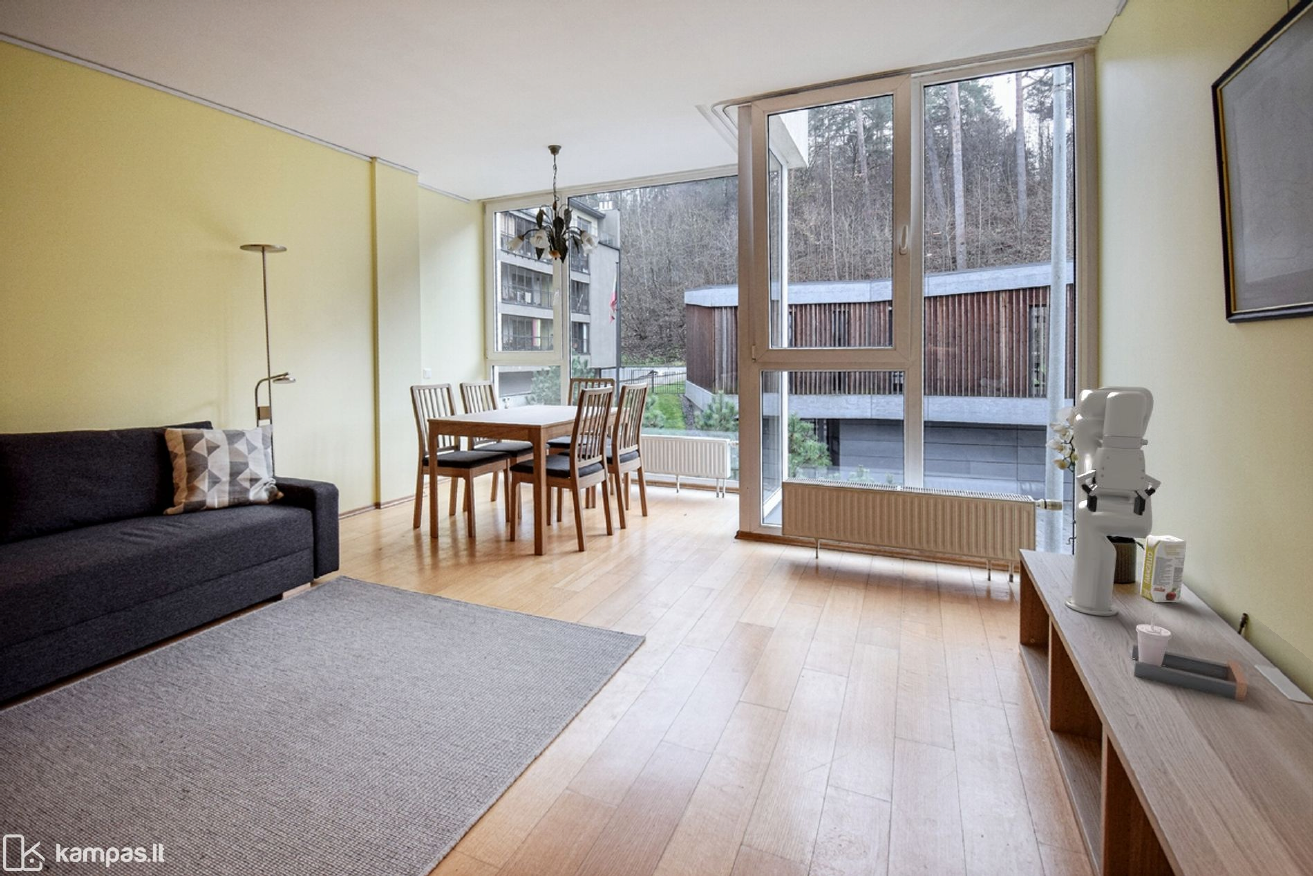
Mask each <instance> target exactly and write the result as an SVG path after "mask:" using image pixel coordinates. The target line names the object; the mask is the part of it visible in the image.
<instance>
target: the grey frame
mask: <svg viewBox="0 0 1313 876" xmlns="http://www.w3.org/2000/svg"><path fill="white" fill-rule="evenodd" d="M1132 658H1135V659H1134V660H1135V662H1134V669H1133V676H1134V677H1137V676H1139V677H1138V678H1141V677H1144V678H1143V679H1145V678H1148V679H1147V680H1150V679H1151V681H1154V680H1156V681H1155V682H1158V681H1159V682H1158V683H1163V684H1168V685H1172V686H1175V687H1181V688H1184V689H1189V690H1193V691H1197V692H1201V693H1206V694H1211V695H1215V696H1218V697H1224V698H1227V699H1232V700H1236V701H1240V702H1244V703H1245V702H1246V698H1247V697H1246V696H1247V691H1248V690H1247V689H1248V682H1247V680H1246V678H1245V675H1244V674H1243V671H1242V670H1241V669H1242V668H1241V667H1240V664H1239V663H1238V661H1233V660H1229V659H1227V663H1223V662H1218V661H1213V660H1209V659H1204V658H1200V657H1195V656H1189V655H1185V654H1180V653H1175V652H1171V651H1165V654H1164V658H1163V661H1162V665H1161V666H1157V665H1153V664H1148V663H1144V662H1139V660H1138V659H1139V652H1138V644H1132V652H1131V659H1132ZM1136 659H1137V660H1136ZM1163 665H1165V666H1163ZM1172 667H1173V668H1172ZM1221 678H1222V679H1221Z"/></svg>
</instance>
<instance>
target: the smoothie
mask: <svg viewBox="0 0 1313 876" xmlns="http://www.w3.org/2000/svg"><path fill="white" fill-rule="evenodd" d="M1151 614H1152V615H1151V624H1146V623H1144V624H1142V623H1141V624H1136V628H1135V631H1136V632H1137V645H1138V652H1139V660H1138V661H1139V662H1144V663H1148V664H1153V665H1157V666H1163V665H1162V661H1163V658H1164V654H1165V651H1166V650H1167V647H1168V643H1169V640H1171V639H1172V633H1171V631H1169V630H1168V629H1167V628H1166V629H1165V628H1164V627H1161V626H1158V625H1155V621H1156V614H1157V612H1155V611H1152V613H1151Z"/></svg>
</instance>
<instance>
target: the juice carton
mask: <svg viewBox="0 0 1313 876" xmlns="http://www.w3.org/2000/svg"><path fill="white" fill-rule="evenodd" d="M1144 544H1145V545H1144V551H1143V561H1142V568H1141V569H1142V571H1141V579H1140V596H1141V595H1142V596H1141V597H1144V598H1145V599H1147V598H1148V599H1147V600H1149V599H1150V601H1151V600H1152V601H1151V602H1153V601H1154V602H1153V603H1155V602H1180V600H1181V598H1180V597H1181V594H1182V593H1181V591H1182V586H1183V577H1184V567H1185V559H1186V551H1187V550H1186V549H1187V541H1186V540H1185V539H1181V538H1178V537H1176V536H1173V535H1170V534H1169V535H1168V534H1167V535H1153V534H1149V535H1148V536H1147V537H1145V543H1144Z"/></svg>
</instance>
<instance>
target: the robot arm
mask: <svg viewBox="0 0 1313 876" xmlns="http://www.w3.org/2000/svg"><path fill="white" fill-rule="evenodd" d="M1076 406H1077V412H1078V414H1077V415H1076V416H1075V417H1074V419H1073V422H1072V433H1073V434H1072V435H1073V441H1074V443H1075V446H1076V449H1077V451H1078V453H1079V455H1080V460H1081V474H1080V475H1077V476H1076V481H1077V484H1079V487H1080V488H1081V491H1082V495H1084V497H1085V498H1086V500H1082V501H1080V502H1078V504H1077V505H1076V507H1075V514H1074V515H1075V517H1074V518H1075V527H1076V528H1075V529H1076V530H1075V531H1076V536H1075V537H1076V538H1075V539H1076V540H1075V553H1074V560H1073V561H1074V563H1073V574H1072V583H1071V595H1070V596H1069V595H1068V596H1066V597H1065V598H1064V600H1063V601H1064V602H1063V603H1064V605H1066V606H1067V607H1068V608H1070V609H1072V610H1073V611H1077V612H1080V613H1083V614H1087V615H1093V616H1100V617H1101V616H1102V617H1109V616H1114V615H1116V614H1117V613H1118V607H1117V606H1116V605H1115V604H1113V603H1112V599H1113V588H1114V580H1115V569H1116V560H1117V550H1116V548H1115V545H1114V544H1113V543H1112V542H1111V541H1110V540H1109V539H1108V537H1107V536H1115V537H1123V538H1132V539H1133V538H1134V539H1144V538H1145V539H1146V537H1147V536H1148V535H1151V532H1152V531H1153V530H1152V529H1153V511H1152V509H1153V508H1152V495H1154V494H1155V493H1156V491H1157V490H1158V488H1159V487H1160V486H1161V484H1162V482H1161V481H1160V480H1158V479H1156V478H1155V477H1152V476H1151V475H1149V474H1147V473H1146V458H1145V457H1146V456H1145V453H1144V452H1145V451H1144V449H1142V448H1143V446H1147V445H1148V443H1149V440H1148V439H1144V436H1146V432H1147V430H1148V426H1149V422H1150V419H1151V417H1152V413H1153V410H1154V397H1153V394H1152V391H1151V390H1149V389H1148V388H1146V387H1142V386H1115V385H1114V386H1110V385H1109V386H1108V385H1107V386H1102V387H1099V388H1088V389H1083V390H1082V391H1080V394H1079V395H1078V399H1077V405H1076ZM1101 441H1102V442H1101Z"/></svg>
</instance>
